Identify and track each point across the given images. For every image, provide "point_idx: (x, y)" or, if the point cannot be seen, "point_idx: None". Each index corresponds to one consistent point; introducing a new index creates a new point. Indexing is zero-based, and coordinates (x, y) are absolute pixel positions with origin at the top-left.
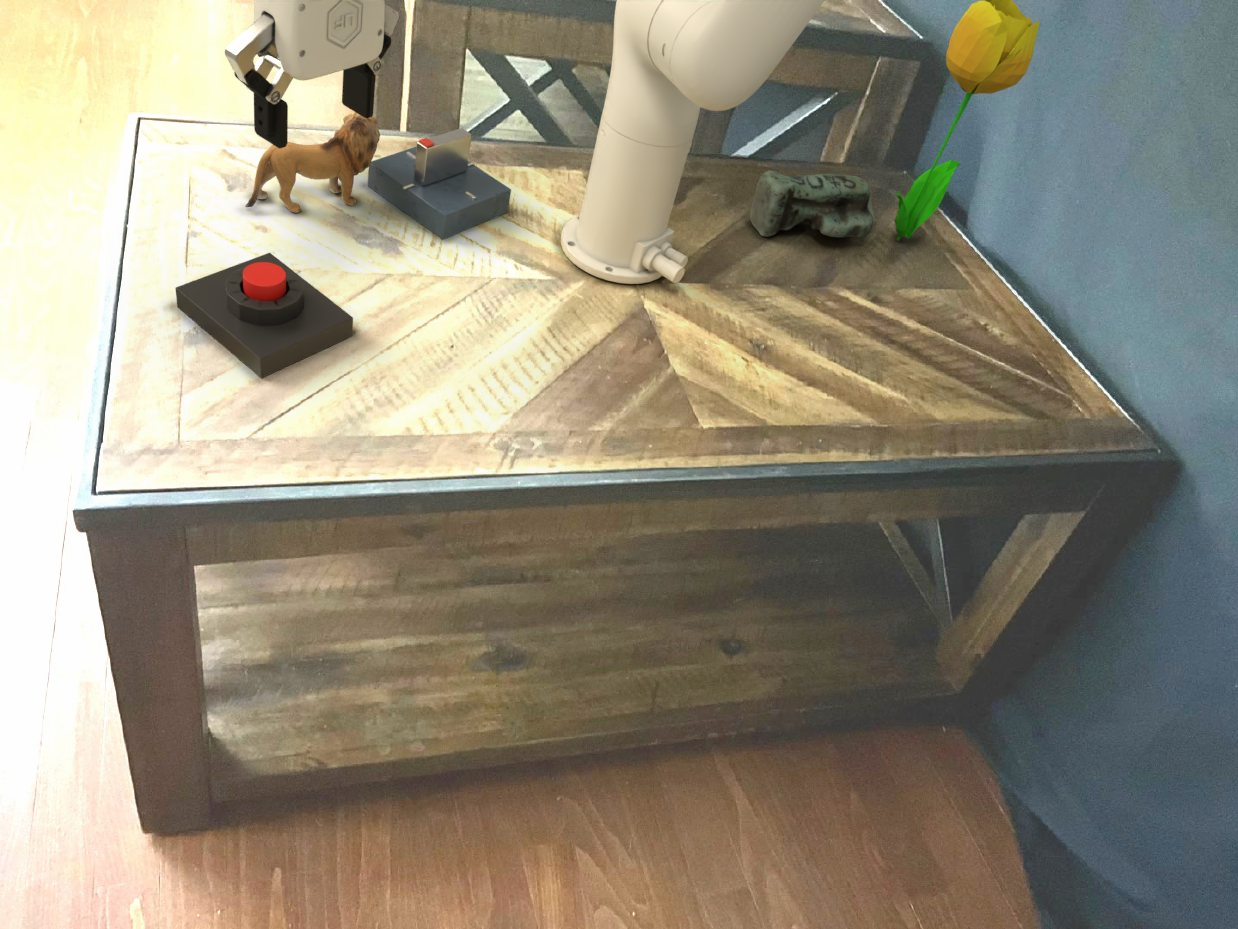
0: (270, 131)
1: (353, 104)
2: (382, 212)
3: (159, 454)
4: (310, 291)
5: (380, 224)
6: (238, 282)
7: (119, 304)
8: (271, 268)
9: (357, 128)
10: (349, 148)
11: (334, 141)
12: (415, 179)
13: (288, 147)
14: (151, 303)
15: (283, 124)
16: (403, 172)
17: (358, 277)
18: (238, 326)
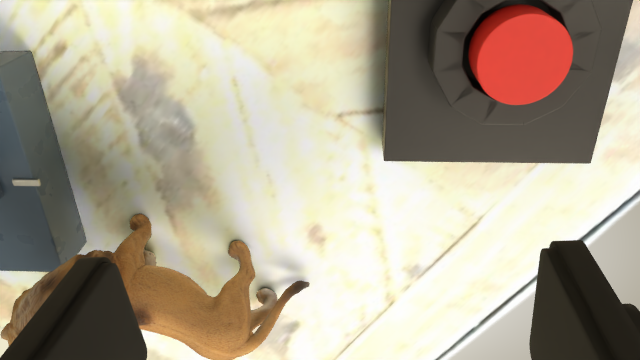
0: (628, 312)
1: (124, 329)
2: (101, 175)
3: None
4: (406, 20)
5: (124, 150)
6: None
7: (631, 194)
8: (497, 69)
9: None
10: None
11: None
12: (2, 191)
13: (212, 342)
14: (595, 172)
15: (614, 312)
16: (14, 221)
17: (256, 44)
18: (603, 5)
